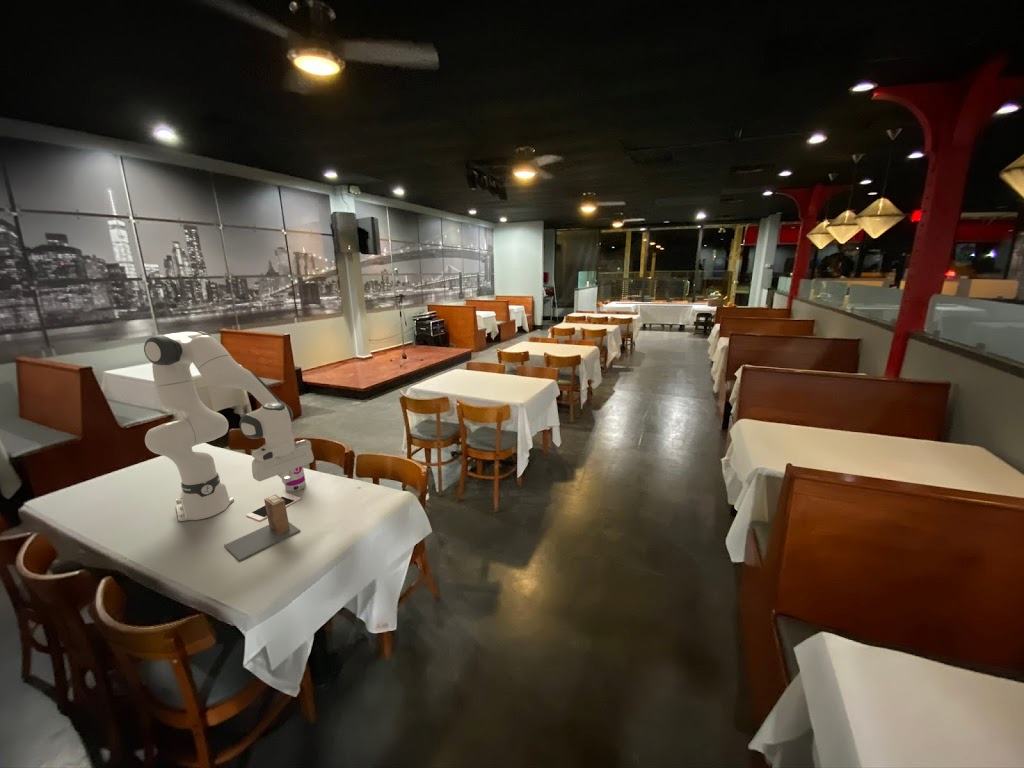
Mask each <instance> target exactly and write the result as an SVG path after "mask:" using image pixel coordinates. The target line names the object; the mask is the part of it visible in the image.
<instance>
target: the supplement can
mask: <svg viewBox="0 0 1024 768" xmlns="http://www.w3.org/2000/svg"><path fill="white" fill-rule="evenodd" d="M288 474H289V471H287V472H284V475H283V477H287V476H288ZM305 475H306V474H305V470H304V465H303V466H301V467H298V468H295V469H294V474H293V476H292V481H290V482H288V483H285V484H284V483H283V484H284V489H285V490H286V491H287V492H297V491H300V490H303V488H304V487H306V484H307V482H306V477H305Z"/></svg>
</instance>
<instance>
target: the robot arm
mask: <svg viewBox="0 0 1024 768" xmlns="http://www.w3.org/2000/svg"><path fill="white" fill-rule="evenodd" d="M143 353H144V355H145V357H146V359H147V360H148V361H149V362H150V363H152V364H151V365H152V366H151V367H152V368H151V369H152V375H153V380H154V381H153V382H154V384H155V385H154V386H155V389H156V391H157V394H158V399H159V402H160V405H161V406H162V407H163V408H165V409H166V410H170V411H175V412H181V413H183V415H184V416H185V418H181V419H177V420H174V421H169V422H166V423H162V424H160V425H157V426H155V427H152V428H150V429H148V431H147V432H146V434H145V436H144V443H145V446H146V448H147V449H148V450H149V451H150V452H152V453H154V454H155V455H160V456H163V457H166V458H168V459H170V460H171V461H172V462H173V463H174V464H175V466H176V467H177V469H178V472H179V476H180V479H181V483H180V484H181V485H180V487H181V490H182V491H181V492H180V493H179V496H180V497H179V498H176V499H175V503H176V504H175V508H176V514H177V519H178V521H179V522H184V521H196V520H197V521H198V520H203V519H207V518H211V517H214V516H216V515H218V514H220V513H222V512H223V511H225V510H226V509H227V508H228V507H229V505H230V504H231V503H233V502H234V501H235V499H234V497H232V496H231V495H230V496H229V493H228V489H227V487H226V484H224V483H222V482H221V480H220V478H221V477H220V475H219V473H218V472H217V468H216V464H215V460H214V458H213V456H212V455H211V454H210V453H207V452H202V451H193V447H194V446H195V447H196V446H198V445H201V444H205V443H207V442H208V443H209V442H211V441H215V440H216V439H218V438H221V437H223V436H225V435H226V434H227V433H228V430H229V421H228V419H227V418H226V417H225V416H224V415H223V414H221V413H220V412H217V411H214V410H212V409H211V408H209V407H207V406H206V405H205V404H204V402H203V401H202V400H201V399H200V396H199V394H198V392H197V388H196V386H195V382H194V379H193V376H192V373H191V364H192V363H193V365H194V366H195V368H196V370H197V371H198V373H199V374H200V375H201V377H202V378H203V379H204V381H206V382H207V383H208V384H210V385H211V386H213V387H217V388H222V389H226V388H227V389H239V390H244V391H247V392H248V393H250V394H251V395H252V396H253V397H254V398H255V399H256V400H257V401H258V403H260V404H261V406H260V408H257V409H255V410H253V411H250V412H247V413H245V414H244V415H242V416H241V417H240V421H239V429H240V432H241V434H242V435H243V436H245V437H246V438H248V439H251V440H255V439H256V440H257V439H258V440H259V439H262V438H263V439H264V440H265V444H263V445H262V446H260V447H259V448H257V449H256V450H253V452H252V453H251V456H252V458H253V460H252V463H251V472H252V477H253V479H254V480H255V481H258V482H262V481H265V480H268V479H270V478H273V477H276V476H278V477H279V478H280V479H281V483H283V484H285V483H288V482H290V481H292V476H293V474H294V469H295V468H298V467H301V466H303V467H304V466H306V465H308V464H311V463H313V462H314V460H315V457H314V453H313V450H312V443H311V440H309V439H302V440H299V441H295V437H294V433H293V432H292V427H293V426H292V425H293V424H292V422H293V419H294V413H293V410H292V408H291V407H290V406H289V405H288V404H287V403H285V402H284V401H282V400H281V399H280V398H279V397H278V396H277V395H276V394H275V393H274V392H273V391H272V390H271V389H270V387H269V386H268V385H267V384H266V383H265V382H263V380H262V379H261V378H260V377H259V376H258V375H256V374H255V373H254V372H253V371H251V370H250V369H247V368H245V367H243V366H242V365H240V364H239V363H238V362H237V361H236V360H235V359H234V358H233V357H232V355H231V354H230V352H229V351H228V350H227V349H226V348H225V346H224V345H223V344H222V343H221V342H220V341H218V339H216V337H214V336H213V335H211V334H210V333H208V332H204V331H201V330H200V331H199V330H198V331H179V332H175V333H173V332H172V333H167V334H157V335H153V336H151V337H149V338H147V340H146V341H144V345H143ZM287 471H289V474H288V476H287V477H283V475H284V472H287Z"/></svg>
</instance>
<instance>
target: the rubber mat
mask: <svg viewBox="0 0 1024 768" xmlns="http://www.w3.org/2000/svg"><path fill="white" fill-rule="evenodd" d="M289 527H290V530H288V531H285V532H283V533H281V534H279V535H278V534H277V533H276V532H274V531H273V530H272V529H270V527H269V524H267V525H265V526H263V527H260V528H259V529H256V530H254V531H252V532H250V533H248V534H245V535H243V536H240V537H238V538H236V539H234V540H232V541H229V542H228V543H226V544H224V545H223V546H224V548H226V550H227V549H228V550H229V551H228V550H227V551H228V552H229V553H231V555H232V556H234V557H235V558H236V560H238V561H239V562H241V561H244V560H247V558H249V557H251V556H253V555H256V554H257V553H260V552H262V551H264V550H266V549H267V548H270V547H272V546H274V545H276V544H278V543H280V542H282V541H284V540H286V539H288V538H290V537H292V536H294V535H296V534H298V533H300V532H301V529H300V528H298V527H296V526H295V525H293V524H292V523H291V522H289Z"/></svg>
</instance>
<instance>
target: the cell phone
mask: <svg viewBox="0 0 1024 768" xmlns="http://www.w3.org/2000/svg"><path fill="white" fill-rule="evenodd" d="M279 497H280V498H282V499H283V500H285V505H286V508H288V507H289V506H292V505H293V504H295V503H296V502H299V501H300V500H302V498H301V497H299V496H297V495H294V494H290V493H286V494H284V495H281V496H279ZM245 516H246V517H247V518H249V519H252V520H255V521H258V522H262V521H264V520H266V519H268V517H267V511H266V506H265V504H264V505H262V506H261V507H258V508H257V509H255V510H253V511H251V512H248V513H247V514H246V515H245Z"/></svg>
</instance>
